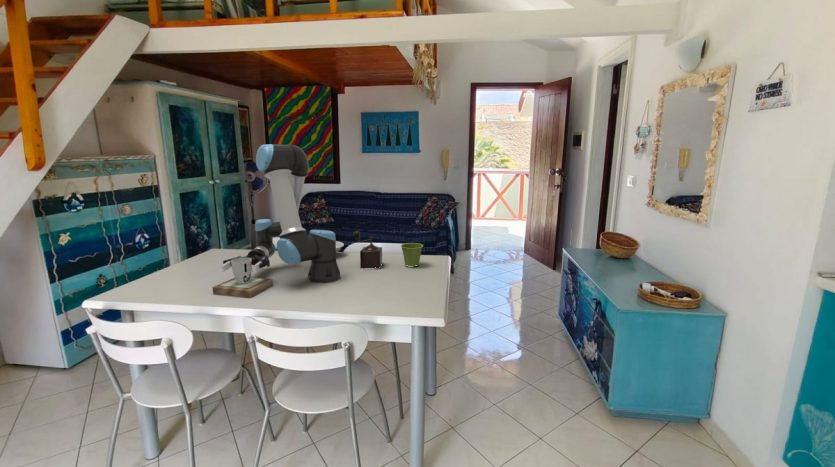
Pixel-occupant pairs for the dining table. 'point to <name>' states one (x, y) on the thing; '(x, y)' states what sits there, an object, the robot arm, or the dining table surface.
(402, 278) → the dining table surface
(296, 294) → the dining table surface
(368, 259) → the manual coffee grinder
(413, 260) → the plant pot
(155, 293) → the dining table surface
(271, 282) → the wooden tray
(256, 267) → the robot arm
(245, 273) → the cup
